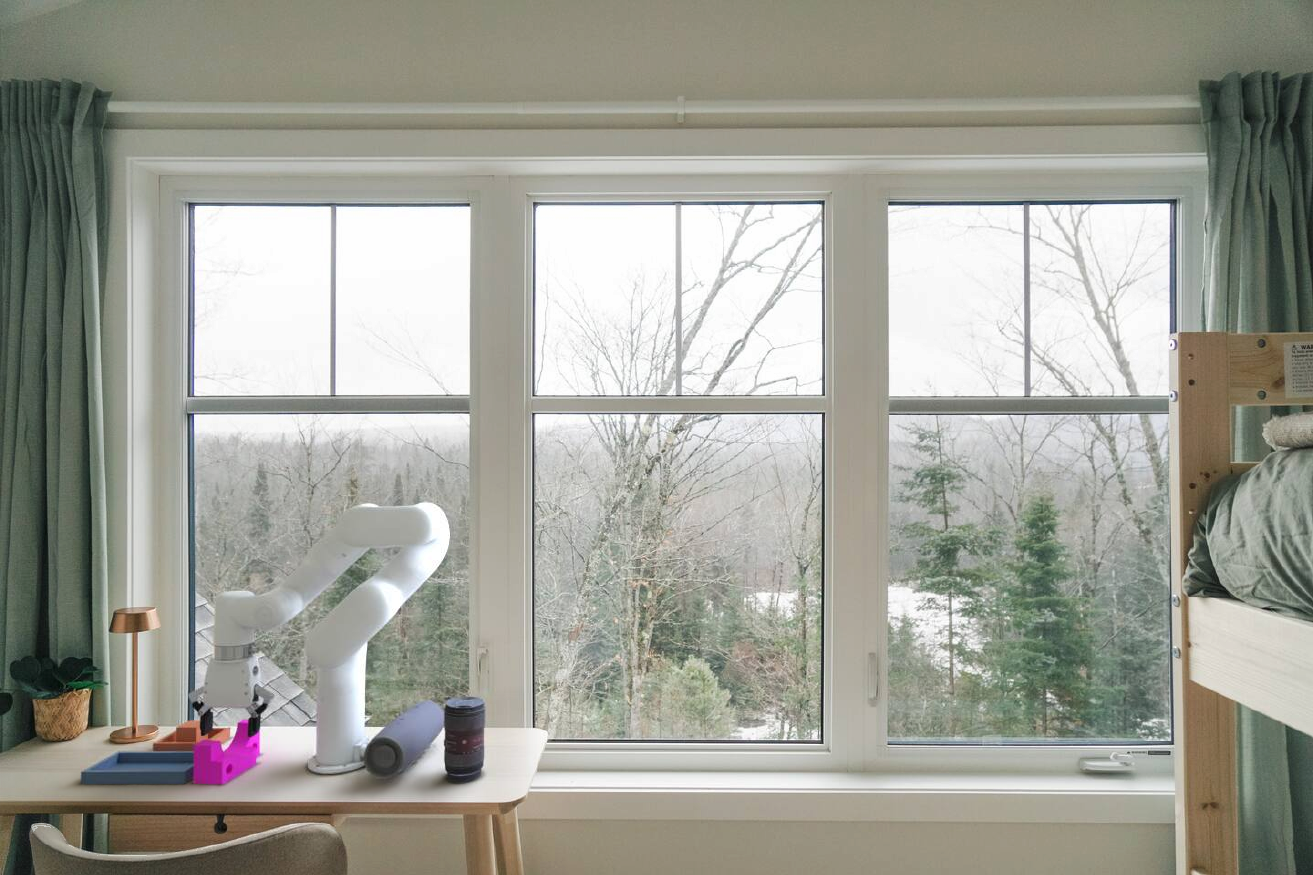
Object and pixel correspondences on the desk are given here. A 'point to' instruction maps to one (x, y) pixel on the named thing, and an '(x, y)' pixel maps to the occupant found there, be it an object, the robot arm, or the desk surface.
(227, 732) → the terracotta tray
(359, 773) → the desk surface
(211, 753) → the toy block
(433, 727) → the bluetooth speaker
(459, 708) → the camera lens
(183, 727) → the terracotta cube
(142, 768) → the blue tray
